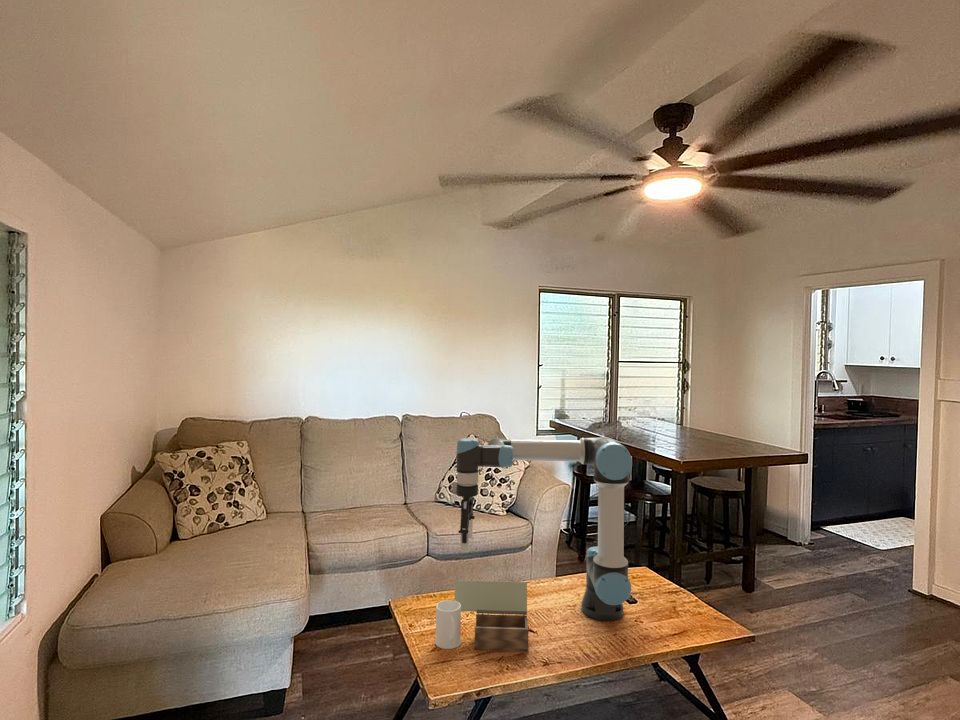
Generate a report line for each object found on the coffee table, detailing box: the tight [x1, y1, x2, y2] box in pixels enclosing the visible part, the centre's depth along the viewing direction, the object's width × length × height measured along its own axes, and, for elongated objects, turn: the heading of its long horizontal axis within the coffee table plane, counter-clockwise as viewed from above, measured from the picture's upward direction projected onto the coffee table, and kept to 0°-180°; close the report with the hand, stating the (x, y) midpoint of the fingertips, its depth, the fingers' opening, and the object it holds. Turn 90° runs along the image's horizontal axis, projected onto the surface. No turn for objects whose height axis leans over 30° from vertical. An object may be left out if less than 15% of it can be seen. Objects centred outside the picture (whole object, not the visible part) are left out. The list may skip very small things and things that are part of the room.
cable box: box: [474, 613, 529, 652], centre depth 172 cm, size 17×9×7 cm, turn 88°
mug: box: [434, 599, 462, 650], centre depth 171 cm, size 12×8×12 cm
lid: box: [454, 579, 528, 616], centre depth 180 cm, size 24×10×2 cm
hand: (466, 544), depth 183 cm, fingers open, 13 cm apart
